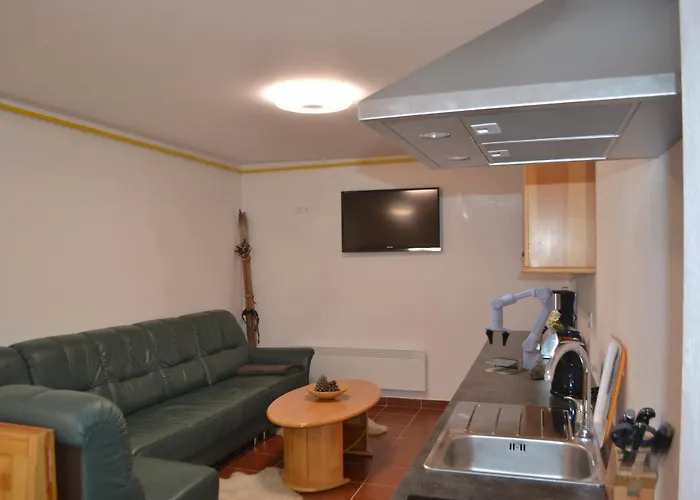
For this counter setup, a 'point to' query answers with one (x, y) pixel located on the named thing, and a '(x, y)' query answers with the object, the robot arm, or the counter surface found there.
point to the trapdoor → (505, 361)
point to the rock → (537, 371)
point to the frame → (505, 370)
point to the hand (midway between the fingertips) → (497, 344)
